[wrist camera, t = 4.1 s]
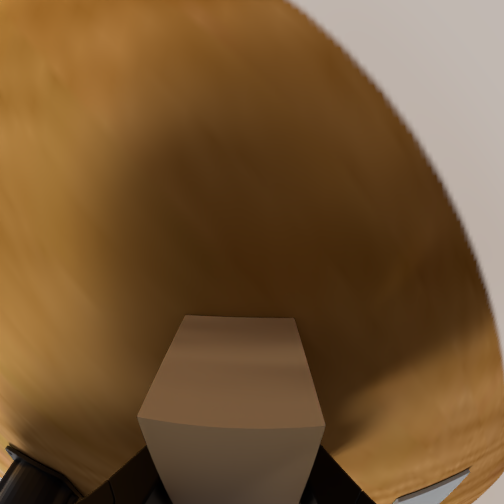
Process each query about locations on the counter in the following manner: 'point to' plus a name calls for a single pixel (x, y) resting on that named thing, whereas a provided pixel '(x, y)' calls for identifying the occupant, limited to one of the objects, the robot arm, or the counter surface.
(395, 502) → the mat
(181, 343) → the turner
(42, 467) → the robot arm
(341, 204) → the counter surface
